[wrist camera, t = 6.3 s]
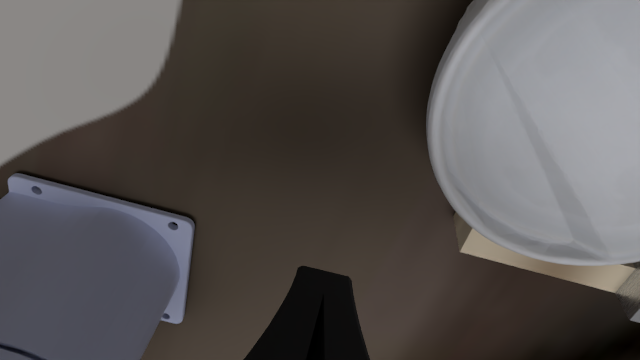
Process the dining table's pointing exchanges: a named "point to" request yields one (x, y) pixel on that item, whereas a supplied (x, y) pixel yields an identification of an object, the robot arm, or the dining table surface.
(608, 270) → the pair of beige bars
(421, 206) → the dining table surface
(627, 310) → the grey h-shaped piece
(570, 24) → the ramekin
